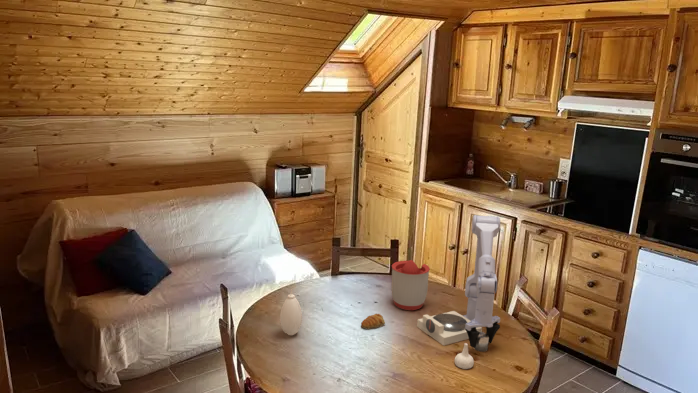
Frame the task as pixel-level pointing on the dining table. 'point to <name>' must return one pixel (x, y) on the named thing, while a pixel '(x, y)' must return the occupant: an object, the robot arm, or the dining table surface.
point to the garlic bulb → (464, 359)
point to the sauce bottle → (291, 315)
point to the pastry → (373, 322)
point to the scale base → (438, 330)
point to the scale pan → (451, 322)
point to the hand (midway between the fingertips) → (480, 344)
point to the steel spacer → (482, 342)
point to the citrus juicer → (409, 284)
